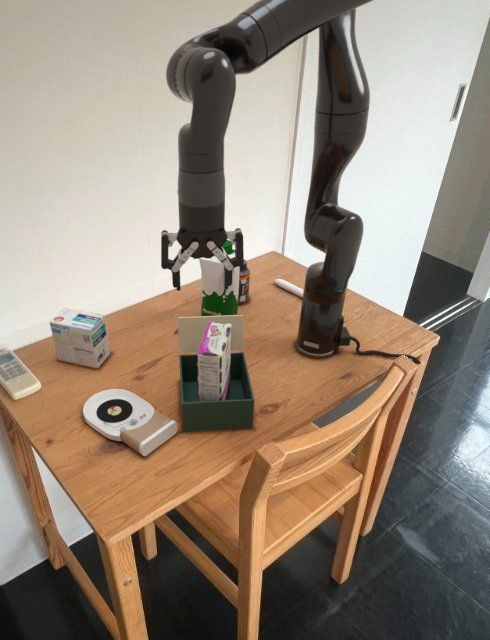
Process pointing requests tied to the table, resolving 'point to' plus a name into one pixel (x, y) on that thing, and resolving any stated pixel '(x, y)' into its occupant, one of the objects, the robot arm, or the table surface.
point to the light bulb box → (80, 337)
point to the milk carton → (218, 286)
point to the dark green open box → (216, 413)
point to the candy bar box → (214, 362)
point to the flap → (196, 326)
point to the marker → (290, 287)
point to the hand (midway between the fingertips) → (202, 287)
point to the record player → (128, 420)
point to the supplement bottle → (243, 283)
